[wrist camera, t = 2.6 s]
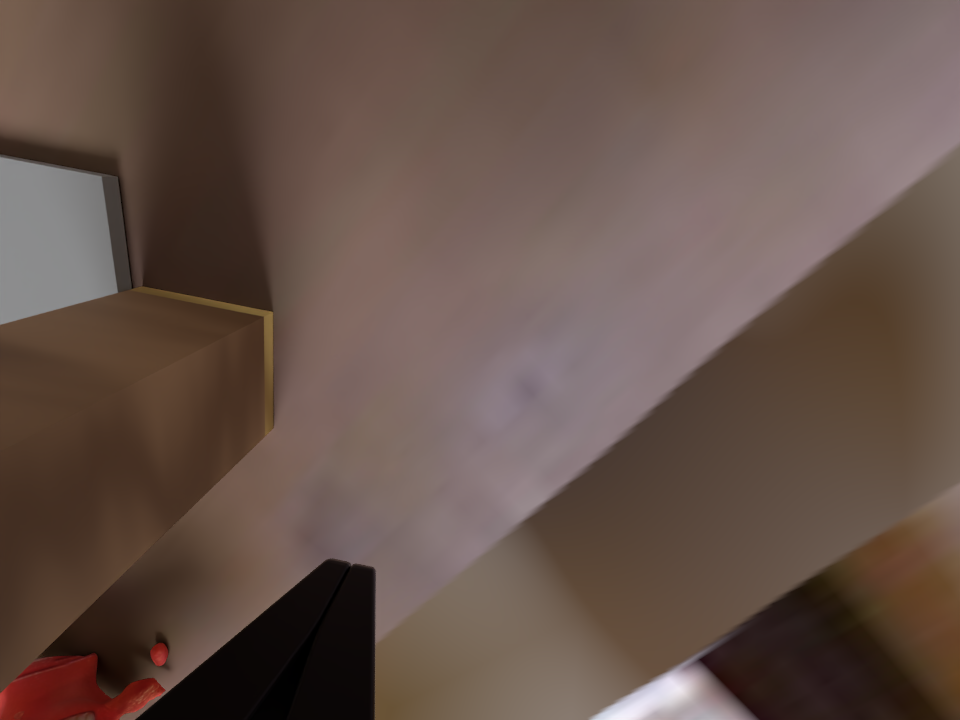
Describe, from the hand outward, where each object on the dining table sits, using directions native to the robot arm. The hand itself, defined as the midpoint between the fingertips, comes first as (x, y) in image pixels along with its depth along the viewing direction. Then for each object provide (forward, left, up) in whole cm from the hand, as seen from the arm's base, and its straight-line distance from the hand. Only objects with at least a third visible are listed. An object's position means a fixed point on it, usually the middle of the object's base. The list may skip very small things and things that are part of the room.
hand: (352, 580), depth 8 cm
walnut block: (0, +7, -7) cm, 10 cm away
